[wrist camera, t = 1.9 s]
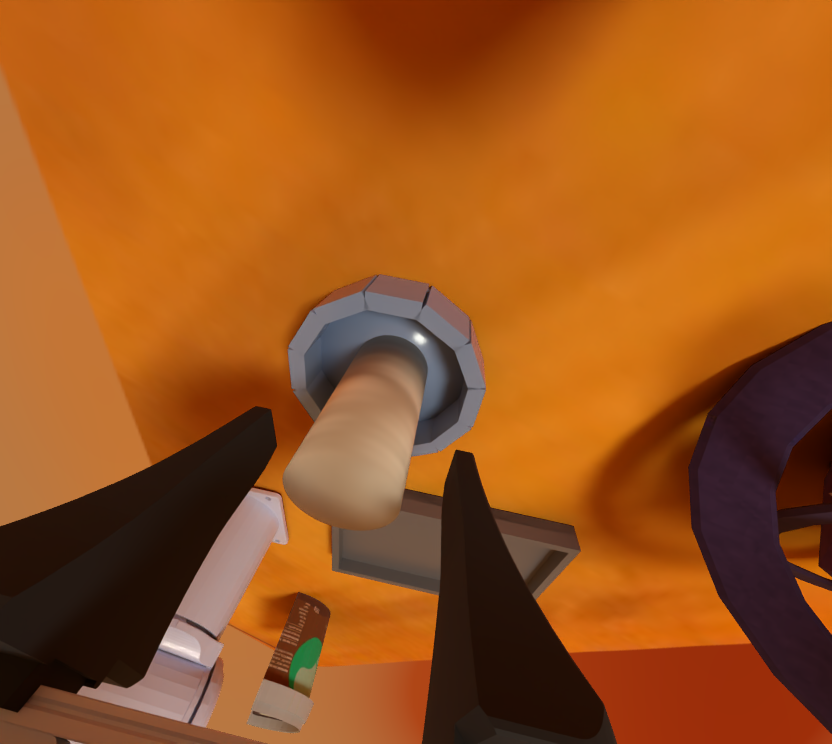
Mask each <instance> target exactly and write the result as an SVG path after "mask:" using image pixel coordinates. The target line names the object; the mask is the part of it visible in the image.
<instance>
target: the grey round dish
mask: <svg viewBox="0 0 832 744" xmlns="http://www.w3.org/2000/svg"><path fill="white" fill-rule="evenodd" d="M382 335H393V336H398V337H401V338H404V339H406V340H408V341H410V342H411V343H413V344H414V345H415V346H417V347H418V348H419V350H420V351H421V352H422V353H423V355H424V357H425V359H426V362H427V366H428V374H427V380H426V385H425V390H424V395H423V400H422V405H421V410H420V415H419V420H418V425H417V430H416V435H415V440H414V444H413V449H412V454H411V457H412V456H418V455H424V454H430V453H437V452H438V450H439V451H442V450H443V449H444V448H446V447H447V446H448V445H450V444H451V443H453V442H454V441H455V440H457V439H458V438H460V437H461V436H462V435H464V434H465V433H466V432H468V431H469V430H471V427H473V425H474V422H475V419H476V416H477V414H478V411H479V408H480V405H481V402H482V399H483V397H484V394H485V391H486V388H485V387H486V384H485V373H484V361H483V357H482V354H481V351H480V347H479V344H478V341H477V338H476V335H475V331H474V328H473V325H472V322H471V320H470V321H469V317H468V316H467V315H466V314H465V313H464V312H462V311H461V310H460V309H459V308H458V307H457V306H455V305H454V304H453V303H452V302H451V301H450V300H448V299H447V298H446V297H445V296H444V295H443V294H441V293H440V292H439V291H438V290H437V289H436V288H435V287H433V286H432V287H431V288H429V284H426V283H421V282H416V281H411V280H406V279H401V278H395V277H390V276H385V275H379V276H378V277H377V275H374V276H372V277H369V278H366V279H364V280H361V281H358V282H356V283H353V284H350V285H348V286H345V287H342V288H340V289H337V290H335V291H333V292H332V293H331V294H330V295H328V296H327V297H326V298H325V299H324V300H323V301H322V302H320V303H319V304H318V305H317V306H316V307H315V308H313V309H312V310H311V311H310V313H309V314H308V316H307V318H306V319H305V321H304V322H303V324H302V326H301V327H300V329H299V330H298V332H297V333H296V335H295V337H294V338H293V340H292V341H291V343H290V345H289V346H288V347H290V348H289V349H288V357H289V367H290V377H291V386H292V389H294V390H293V392H294V394H295V395H296V397H297V398H298V399H299V401H300V402H301V404H302V405H303V407H304V408H305V409H306V411H307V412H308V414H309V415H310V416H311V418H312V419H313V421H314V422H315V421H316V419H317V417H318V416H319V414H320V413H321V411H322V409H323V408H324V406H325V405H326V403H327V401H328V400H329V398H330V396H331V395H332V393H333V392H334V390H335V388H336V387H337V385H338V384H339V382H340V380H341V379H342V377H343V376H344V374H345V372H346V371H347V369H348V367H349V366H350V364H351V363H352V361H353V359H354V358H355V356H356V355H357V353H358V351H359V350H360V348H361V347H362V346H363V344H364V343H366V342H367V341H368V340H370V339H372V338H374V337H377V336H382Z"/></svg>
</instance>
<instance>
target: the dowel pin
mask: <svg viewBox="0 0 832 744" xmlns="http://www.w3.org/2000/svg"><path fill="white" fill-rule="evenodd" d="M427 374H428V366H427V362H426V359H425V357H424V355H423V353H422V352H421V351H420V350H419V348H418V347H417V346H415V345H414V344H413V343H411V342H410V341H408V340H406V339H404V338H401V337H398V336H393V335H382V336H377V337H374V338H372V339H370V340H368V341H367V342H366V343H364V344H363V346H362V347H361V348H360V350H359V351H358V353H357V355H356V356H355V358H354V359H353V361H352V363H351V364H350V366H349V367H348V369H347V371H346V372H345V374H344V376H343V377H342V379H341V380H340V382H339V384H338V385H337V387H336V388H335V390H334V392H333V393H332V395H331V396H330V398H329V400H328V401H327V403H326V405H325V406H324V408H323V409H322V411H321V413H320V414H319V416H318V417H317V419H316V421H315V422H314V424H313V426H312V427H311V429H310V430H309V432H308V434H307V435H306V437H305V438H304V440H303V442H302V443H301V445H300V447H299V448H298V450H297V451H296V453H295V455H294V456H293V458H292V459H291V461H290V463H289V464H288V466H287V467H286V469H285V471H284V474H283V485H284V489H285V491H286V493H287V495H288V496H289V498H290V499H291V500H292V501H293V503H294V504H295V505H296V506H297V507H299V508H300V509H301V510H302V511H304V512H305V513H306V514H308V515H309V516H311V517H313V518H315V519H317V520H319V521H321V522H323V523H326V524H328V525H331V526H334V527H338V528H342V529H347V530H358V531H365V530H374V529H378V528H382V527H384V526H386V525H388V524H390V523H391V522H393V521H394V520H395V519H396V518H397V516H398V515H399V512H400V509H401V504H402V499H403V494H404V489H405V484H406V479H407V474H408V469H409V464H410V459H411V454H412V449H413V444H414V440H415V435H416V430H417V425H418V420H419V415H420V410H421V405H422V400H423V395H424V390H425V385H426V380H427Z"/></svg>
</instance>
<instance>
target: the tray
mask: <svg viewBox="0 0 832 744" xmlns="http://www.w3.org/2000/svg"><path fill="white" fill-rule="evenodd" d="M442 502H443V497H439V496H434V495H430V494H425V493H421V492H416V491H412V490H407V489H404V494H403V499H402V504H401V509H400V512H399V515H398V516H397V518H396V519H395V520H394V521H393V522H391V523H390V524H388V525H386V526H384V527H382V528H378V529H374V530H365V531H358V530H347V529H342V528H338V527H334V526H332V571H336V572H341V573H345V574H349V575H354V576H358V577H362V578H367V579H371V580H375V581H379V582H384V583H388V584H392V585H397V586H401V587H405V588H410V589H414V590H418V591H422V592H427V593H431V594H435V595H439V590H440V574H441V514H442ZM491 511H492V513H493V516H494V518H495V521H496V523H497V526H498V528H499V530H500V532H501V535H502V537H503V539H504V541H505V544H506V546H507V548H508V550H509V552H510V554H511V556H512V558H513V560H514V562H515V564H516V566H517V568H518V570H519V572H520V574H521V575H522V577H523V579H524V581H525V583H526V585H527V586H528V588H529V590H530V592H531V594H532V595H533V597H534V599H535V600H536V599H537V598H538V597H539V596H540V595H541V593H542V592H543V591H544V590H545V589H546V588H547V587H548V586H549V585H550V584H551V583H552V582H553V581H554V579H555V578H556V577H557V576H558V575H559V574H560V573H561V572H562V571H563V570H564V569H565V568H566V566H567V565H568V564H569V563H570V562H571V561H572V560H573V559H574V558H575V557H576V556H577V555H578V554H579V552H580V551H581V550H580V546H579V543H578V540H577V536H576V533H575V530H574V527H573V526H570V525H566V524H561V523H557V522H552V521H548V520H543V519H539V518H534V517H530V516H525V515H521V514H516V513H511V512H507V511H502V510H498V509H493V508H491Z"/></svg>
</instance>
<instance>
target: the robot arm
mask: <svg viewBox="0 0 832 744" xmlns="http://www.w3.org/2000/svg"><path fill="white" fill-rule="evenodd" d="M276 447H277V443H276V437H275V430H274V424H273V418H272V412H271V409H267V408H262V407H257V406H255V407H254V408H252V409H250V410H249V411H247V412H245V413H244V414H242V415H240V416H239V417H237V418H235V419H234V420H232V421H231V422H229V423H227V424H226V425H224V426H222V427H221V428H219V429H217V430H216V431H214V432H212V433H211V434H209V435H207V436H206V437H204V438H202V439H201V440H199V441H197V442H195V443H194V444H192V445H190V446H188V447H186V448H184V449H183V450H181V451H179V452H177V453H175V454H173V455H172V456H170V457H168V458H166V459H164V460H162V461H160V462H158V463H157V464H154V465H152V466H150V467H148V468H146V469H145V470H142V471H140V472H138V473H136V474H134V475H132V476H129V477H128V478H125V479H123V480H121V481H118V482H116V483H114V484H111V485H109V486H107V487H104V488H102V489H99V490H97V491H95V492H92V493H90V494H87V495H85V496H83V497H80V498H78V499H75V500H73V501H70V502H68V503H65V504H62V505H60V506H57V507H54V508H52V509H49V510H46V511H44V512H40V513H38V514H35V515H32V516H29V517H27V518H24V519H21V520H18V521H15V522H12V523H9V524H6V525H3V526H0V744H265V743H262V742H258V741H254V740H250V739H247V738H243V737H239V736H235V735H231V734H227V733H224V732H220V731H216V730H212V729H208V728H206V725H207V723H208V721H209V719H210V717H211V714H212V712H213V710H214V707H215V705H216V702H217V699H218V697H219V694H220V691H221V687H222V683H223V677H224V676H223V675H224V674H223V660H222V659H221V658H219V657H218V656H219V654H220V652H221V650H222V648H223V646H224V644H223V643H221V642H219V640H220V638H221V636H222V634H223V632H224V630H225V628H226V626H227V625H228V623H229V621H230V619H231V617H232V615H233V613H234V611H235V610H236V608H237V606H238V604H239V602H240V600H241V598H242V596H243V595H244V593H245V591H246V589H247V587H248V585H249V583H250V582H251V580H252V578H253V576H254V574H255V572H256V570H257V568H258V567H259V565H260V563H261V561H262V559H263V557H264V555H265V553H266V552H267V550H268V548H269V546H270V544H271V542H274V543H279V544H283V545H285V544H287V543H288V540H289V538H288V532H287V527H286V521H285V515H284V509H283V503H282V497H281V495H279V494H278V493H274V492H270V491H265V490H261V489H257V488H252V487H253V485H254V484H255V482H256V481H257V480H258V478H259V477H260V475H261V474H262V472H263V471H264V469H265V468H266V466H267V464H268V462H269V460H270V458H271V457H272V455H273V453H274V451H275V449H276ZM422 744H617V742H616V739H615V736H614V733H613V729H612V726H611V724H610V721H609V718H608V715H607V712H606V709H605V706H604V704H603V702H602V701H601V699H600V698H599V696H598V695H597V694H596V692H595V691H594V689H593V688H592V687H591V685H590V684H589V682H588V681H587V680H586V678H585V677H584V675H583V674H582V672H581V671H580V669H579V668H578V666H577V665H576V664H575V662H574V661H573V659H572V658H571V656H570V655H569V653H568V652H567V650H566V649H565V647H564V645H563V644H562V642H561V641H560V639H559V638H558V636H557V635H556V633H555V632H554V630H553V629H552V627H551V625H550V624H549V622H548V620H547V619H546V617H545V615H544V614H543V612H542V610H541V609H540V607H539V605H538V604H537V602H536V600H535V599H534V597H533V595H532V594H531V592H530V590H529V588H528V586H527V585H526V583H525V581H524V579H523V577H522V575H521V574H520V572H519V570H518V568H517V566H516V564H515V562H514V560H513V558H512V556H511V554H510V552H509V550H508V548H507V546H506V544H505V541H504V539H503V537H502V535H501V532H500V530H499V528H498V526H497V523H496V521H495V518H494V516H493V513H492V511H491V508H490V505H489V503H488V500H487V497H486V495H485V492H484V489H483V486H482V483H481V480H480V477H479V473H478V470H477V466H476V462H475V458H474V455H473V454H472V453H470V452H465V451H460V450H456V451H455V454H454V457H453V460H452V463H451V466H450V469H449V472H448V475H447V478H446V481H445V485H444V493H443V502H442V514H441V574H440V590H439V601H438V611H437V621H436V630H435V640H434V649H433V658H432V667H431V675H430V684H429V693H428V701H427V709H426V716H425V724H424V733H423V741H422Z"/></svg>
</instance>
